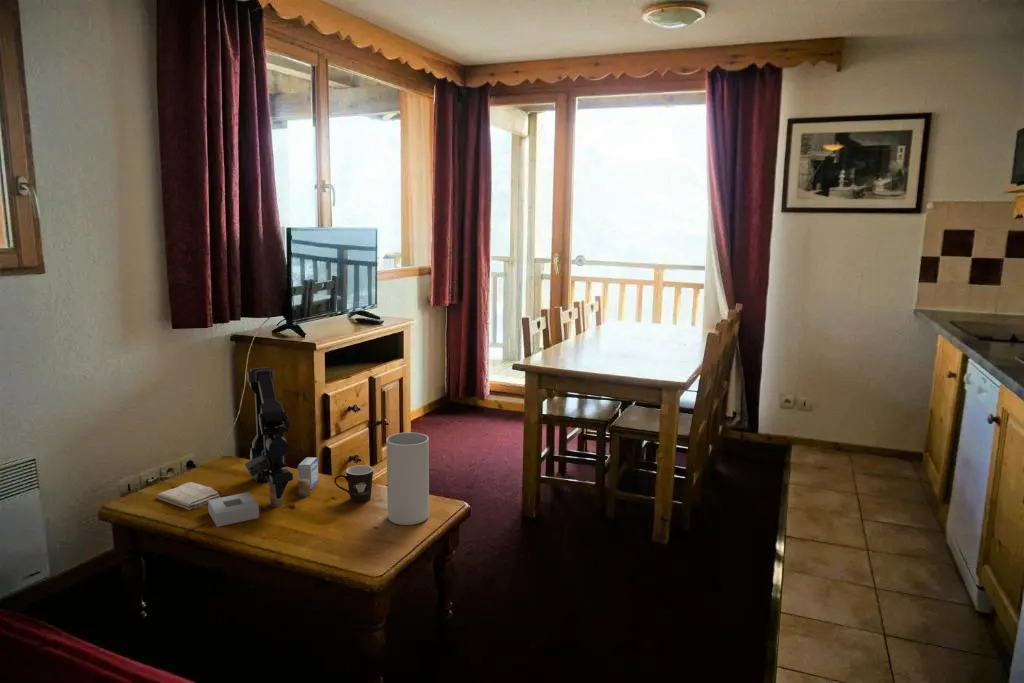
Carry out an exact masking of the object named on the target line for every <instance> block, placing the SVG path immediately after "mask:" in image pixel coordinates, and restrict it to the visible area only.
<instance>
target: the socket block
mask: <svg viewBox="0 0 1024 683" xmlns="http://www.w3.org/2000/svg"><path fill="white" fill-rule="evenodd" d="M259 506H260V504H258V502H257V501H256V500H255V498H254V497H253V496H252V494H251V493H250V492H249V491H247V492H243V493H237V494H233V495H229V496H223V497H221V498H217V499H212V500H208V504H207V507H208V514H209V516H210V517H211V519H212V521H213V522H214V524H215V526H216V527H217V528H219V527H223V526H226V525H227V526H228V525H231V524H235V523H236V524H237V523H241V522H245V521H250V520H254V519H259V518H260V509H259V508H260V507H259Z"/></svg>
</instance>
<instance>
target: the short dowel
mask: <svg viewBox="0 0 1024 683" xmlns="http://www.w3.org/2000/svg"><path fill="white" fill-rule="evenodd" d="M298 497H299V498H308V497H311V489H310V480H309V479H301V480H299V479H298Z"/></svg>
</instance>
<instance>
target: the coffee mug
mask: <svg viewBox="0 0 1024 683" xmlns="http://www.w3.org/2000/svg"><path fill="white" fill-rule="evenodd" d="M345 473H346V475H345V474H338V475H337V476H336V477H335V478H334V485H335V486H336V487H338V489H341V490H343V491H344V492H346V493H348V494H349V499H350V502H351V503H354V504H365V503H368V502H370V501H371V498H372V497H371V496H372V488H373V487H372V486H373V477H374V476H373V475H374V468H373V467H372V466H370V465H363V464H362V465H361V464H360V465H354V466H350V467H348V468H347V469H346V471H345ZM339 478H344V479H345V481H346V482H347V485H348V486H347V487H348V489H347V488H345V487H342V486H340V485H339V484H338V483H337V480H338V479H339Z"/></svg>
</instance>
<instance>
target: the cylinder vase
mask: <svg viewBox="0 0 1024 683" xmlns="http://www.w3.org/2000/svg"><path fill="white" fill-rule="evenodd" d="M429 440H430V439H429V436H428V435H426V434H424V433H420V432H399V433H394V434H391V435H388V437H387V438H386V486H387V487H386V490H387V491H386V492H387V493H386V494H387V496H386V498H387V500H386V502H387V509H386V510H387V519H388V520H389V522H391V523H393V524H396V525H398V526H411V525H412V526H413V525H417V524H421V523H423V522H425V521H426V520H427V519H428V518H429V516H430V470H429V469H430V462H429V460H430V457H429V456H430V455H429V454H430V453H429V450H430V447H429V446H430V445H429V444H430V443H429V442H430V441H429Z"/></svg>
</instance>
